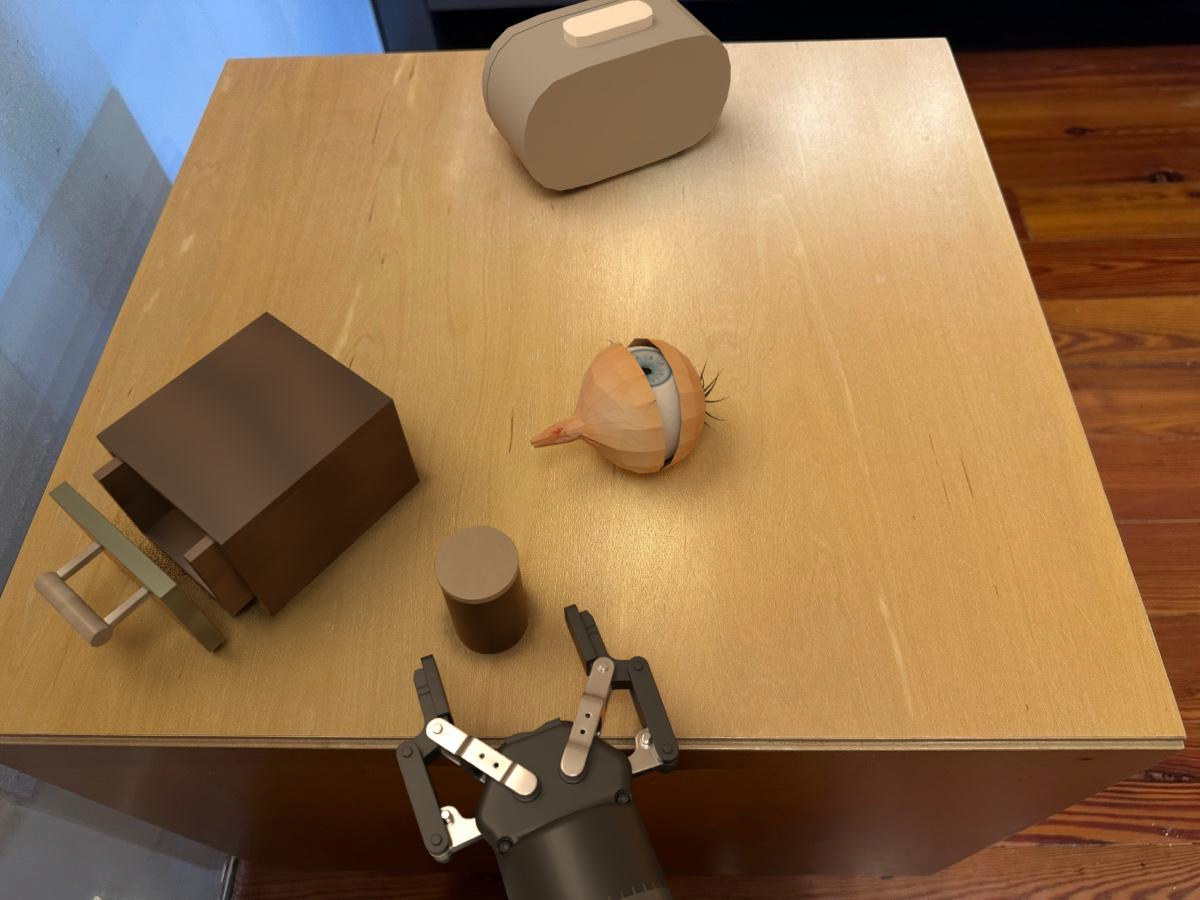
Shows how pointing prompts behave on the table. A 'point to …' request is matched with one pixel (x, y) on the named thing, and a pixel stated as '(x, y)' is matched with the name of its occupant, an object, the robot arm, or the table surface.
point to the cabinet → (270, 455)
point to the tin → (483, 588)
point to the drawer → (142, 560)
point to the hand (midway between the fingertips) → (499, 635)
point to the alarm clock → (604, 88)
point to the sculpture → (637, 407)
